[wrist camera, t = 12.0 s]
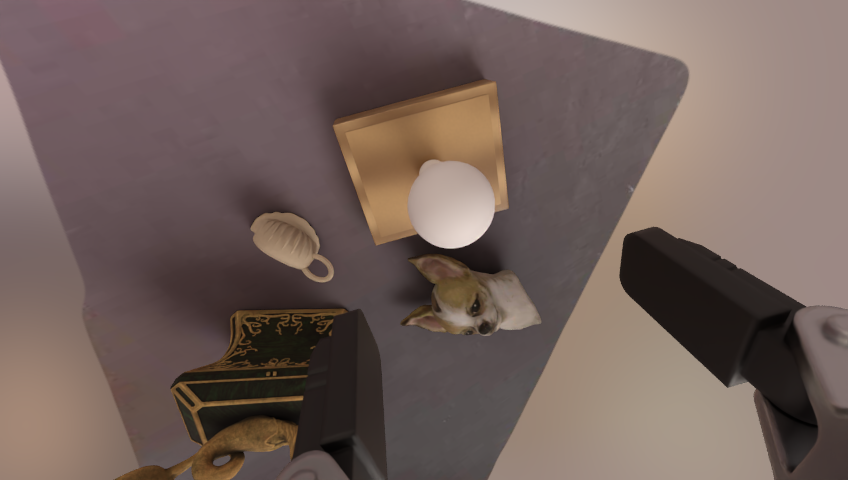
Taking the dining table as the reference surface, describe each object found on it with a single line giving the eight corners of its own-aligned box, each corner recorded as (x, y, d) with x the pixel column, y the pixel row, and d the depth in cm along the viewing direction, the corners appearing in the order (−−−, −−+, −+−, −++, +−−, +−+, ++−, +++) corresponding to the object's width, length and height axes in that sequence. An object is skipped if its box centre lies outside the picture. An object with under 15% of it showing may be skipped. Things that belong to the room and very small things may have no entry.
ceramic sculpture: (534, 368, 37) (401, 367, 35) (509, 315, 45) (399, 312, 43) (564, 292, 32) (412, 285, 30) (530, 248, 40) (407, 240, 38)
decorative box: (364, 301, 40) (364, 483, 23) (363, 356, 45) (361, 542, 28) (180, 303, 36) (19, 523, 19) (199, 364, 41) (82, 584, 24)
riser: (335, 119, 30) (332, 125, 27) (485, 78, 30) (496, 81, 27) (374, 231, 36) (375, 246, 33) (498, 197, 36) (509, 208, 33)
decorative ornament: (271, 198, 32) (255, 222, 28) (342, 243, 36) (338, 271, 31) (249, 227, 33) (230, 255, 29) (320, 268, 37) (314, 299, 32)
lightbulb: (455, 205, 32) (492, 268, 23) (393, 197, 31) (405, 261, 21) (471, 142, 29) (521, 185, 20) (404, 130, 28) (424, 171, 19)
